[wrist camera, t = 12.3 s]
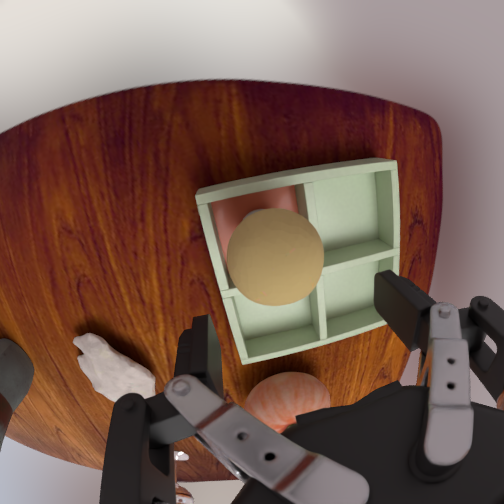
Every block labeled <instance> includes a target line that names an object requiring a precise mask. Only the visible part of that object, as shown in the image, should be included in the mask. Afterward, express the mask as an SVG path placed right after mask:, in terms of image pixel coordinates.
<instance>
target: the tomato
mask: <svg viewBox="0 0 504 504" xmlns="http://www.w3.org/2000/svg"><path fill="white" fill-rule="evenodd" d="M329 407H330V395H329V392H328V390H327V388H326V387H325V385H324V384H323V383H322V382H320V381H319V380H318V379H317V378H315V377H313V376H311V375H309V374H306V373H301V372H284V373H279V374H276V375H273V376H271V377H268V378H266V379H265V380H263V381H261V382H260V383H259V384H257V385H256V386H255V387H254V388H253V389H252V390H251V392H250V393H249V395H248V397H247V400H246V402H245V408H244V410H246V411H247V412H249V413H250V414H251V415H253V416H254V417H256V418H257V419H259V420H260V421H261V422H263V423H264V424H266V425H267V426H269V427H270V428H272V429H273V430H275V431H276V432H278V433H282V432H283V431H284V430H285V429H287V428H289V427H290V426H292V425H294V424H296V418H295V416H296V415H300V414H304V413H308V412H311V411H315V410H318V409H321V408H329Z"/></svg>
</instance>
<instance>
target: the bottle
mask: <svg viewBox="0 0 504 504" xmlns="http://www.w3.org/2000/svg"><path fill="white" fill-rule="evenodd" d="M33 375H34V367H33V364H32V362H31V360H30V358H29V357H28V356H27V354H26V353H25V352H24V351H23V350H22V349H21V348H20V347H19V346H18V345H17V344H16V343H14V342H13V341H11V340H9V339H5V338H3V339H0V451H1V446H2V443H3V439H4V436H5V433H6V430H7V427H8V424H9V422H10V419H11V416H12V414H13V412H14V411H15V409H16V408H17V407H18V405H19V404H20V403H21V401H22V400H23V399H24V397H25V396H26V394H27V393H28V391H29V388H30V386H31V383H32V380H33Z"/></svg>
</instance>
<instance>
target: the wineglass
mask: <svg viewBox="0 0 504 504" xmlns="http://www.w3.org/2000/svg"><path fill="white" fill-rule="evenodd" d="M188 458H189V457H188V455H187V454H185V453H182V452H178V451H174V464H175V488H176V504H194V499H193V497H192V494H191V493H190V492H188V490H186V489H185V488H183V487H181V486H179V484H177V463H176V461H185V460H187V459H188Z"/></svg>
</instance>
